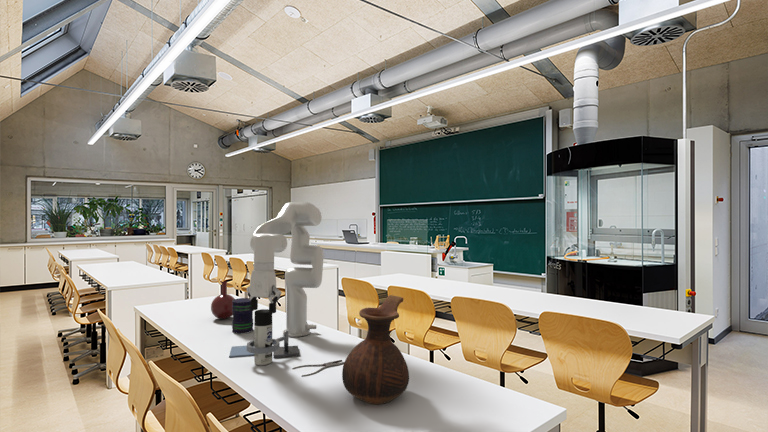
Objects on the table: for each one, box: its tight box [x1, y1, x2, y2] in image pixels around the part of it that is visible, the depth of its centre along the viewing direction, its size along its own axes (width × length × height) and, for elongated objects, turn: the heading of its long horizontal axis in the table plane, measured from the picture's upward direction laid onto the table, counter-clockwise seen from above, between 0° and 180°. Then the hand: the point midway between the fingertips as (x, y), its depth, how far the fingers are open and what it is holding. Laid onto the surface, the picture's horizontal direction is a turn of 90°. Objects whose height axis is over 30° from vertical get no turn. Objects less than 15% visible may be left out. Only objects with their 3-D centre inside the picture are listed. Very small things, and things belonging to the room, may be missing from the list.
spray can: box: [253, 308, 273, 366], centre depth 159 cm, size 7×7×20 cm
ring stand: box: [246, 330, 300, 359], centre depth 164 cm, size 20×20×9 cm
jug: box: [341, 294, 410, 405], centre depth 132 cm, size 22×22×30 cm
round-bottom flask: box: [210, 280, 235, 320], centre depth 224 cm, size 13×13×20 cm
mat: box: [228, 345, 254, 358], centre depth 172 cm, size 12×12×1 cm
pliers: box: [292, 359, 345, 377], centre depth 156 cm, size 10×1×20 cm
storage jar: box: [231, 297, 254, 334], centre depth 202 cm, size 10×10×15 cm
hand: (263, 311), depth 158 cm, fingers open, 9 cm apart
